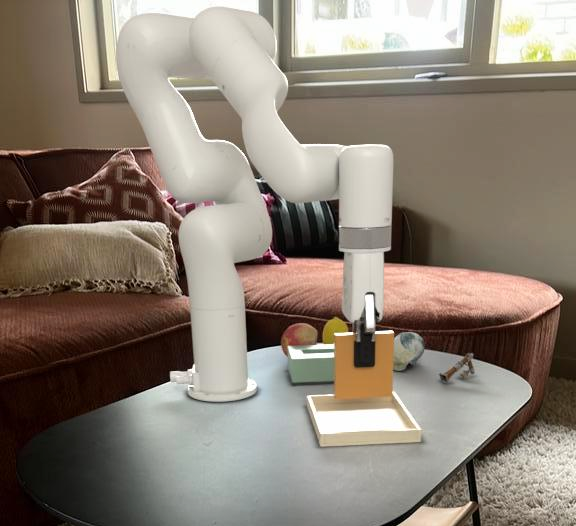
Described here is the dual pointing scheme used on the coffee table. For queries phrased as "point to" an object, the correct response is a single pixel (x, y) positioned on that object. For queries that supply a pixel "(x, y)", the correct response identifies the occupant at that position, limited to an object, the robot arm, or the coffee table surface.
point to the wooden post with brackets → (457, 366)
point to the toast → (363, 368)
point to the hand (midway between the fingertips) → (362, 363)
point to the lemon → (333, 330)
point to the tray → (361, 420)
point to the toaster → (311, 364)
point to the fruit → (298, 336)
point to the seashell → (407, 350)
